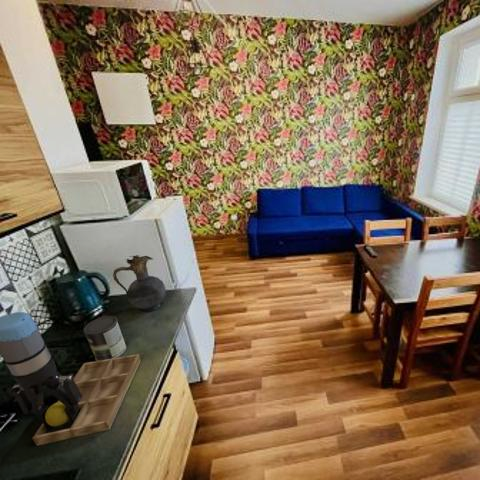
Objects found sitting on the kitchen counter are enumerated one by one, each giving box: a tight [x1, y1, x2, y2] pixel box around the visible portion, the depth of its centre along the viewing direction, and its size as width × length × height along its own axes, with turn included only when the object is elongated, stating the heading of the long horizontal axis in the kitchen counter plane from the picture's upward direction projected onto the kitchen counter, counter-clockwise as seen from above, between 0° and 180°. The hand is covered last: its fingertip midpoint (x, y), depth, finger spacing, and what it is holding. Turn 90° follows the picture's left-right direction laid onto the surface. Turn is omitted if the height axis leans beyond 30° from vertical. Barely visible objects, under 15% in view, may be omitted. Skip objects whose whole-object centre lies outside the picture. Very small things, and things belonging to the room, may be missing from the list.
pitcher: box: [112, 254, 167, 313], centre depth 128 cm, size 11×19×30 cm, turn 111°
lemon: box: [45, 401, 69, 426], centre depth 79 cm, size 6×6×8 cm
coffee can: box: [83, 315, 127, 361], centre depth 105 cm, size 10×10×14 cm
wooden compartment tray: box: [31, 353, 141, 447], centre depth 89 cm, size 18×27×3 cm
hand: (63, 421), depth 80 cm, fingers closed on lemon, 5 cm apart
